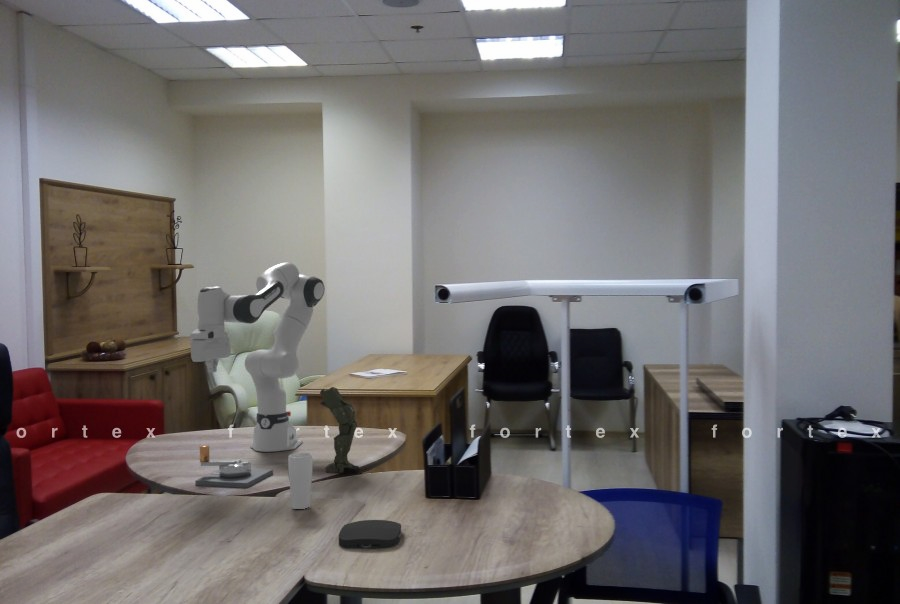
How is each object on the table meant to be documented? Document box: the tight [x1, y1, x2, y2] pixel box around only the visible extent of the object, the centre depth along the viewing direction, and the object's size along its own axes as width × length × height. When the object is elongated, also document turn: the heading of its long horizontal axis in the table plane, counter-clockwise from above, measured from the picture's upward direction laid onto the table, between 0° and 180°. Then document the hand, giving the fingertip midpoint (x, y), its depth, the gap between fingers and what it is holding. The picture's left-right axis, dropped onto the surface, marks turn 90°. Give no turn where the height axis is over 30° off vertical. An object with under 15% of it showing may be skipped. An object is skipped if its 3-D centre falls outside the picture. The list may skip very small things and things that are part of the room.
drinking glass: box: [287, 452, 314, 510], centre depth 206 cm, size 7×7×15 cm
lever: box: [199, 445, 252, 478], centre depth 239 cm, size 16×10×9 cm, turn 90°
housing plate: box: [194, 468, 274, 489], centre depth 239 cm, size 18×18×2 cm
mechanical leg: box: [319, 386, 360, 474], centre depth 249 cm, size 14×7×30 cm, turn 85°
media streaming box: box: [338, 519, 402, 549], centre depth 180 cm, size 15×15×3 cm
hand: (212, 372), depth 254 cm, fingers closed
